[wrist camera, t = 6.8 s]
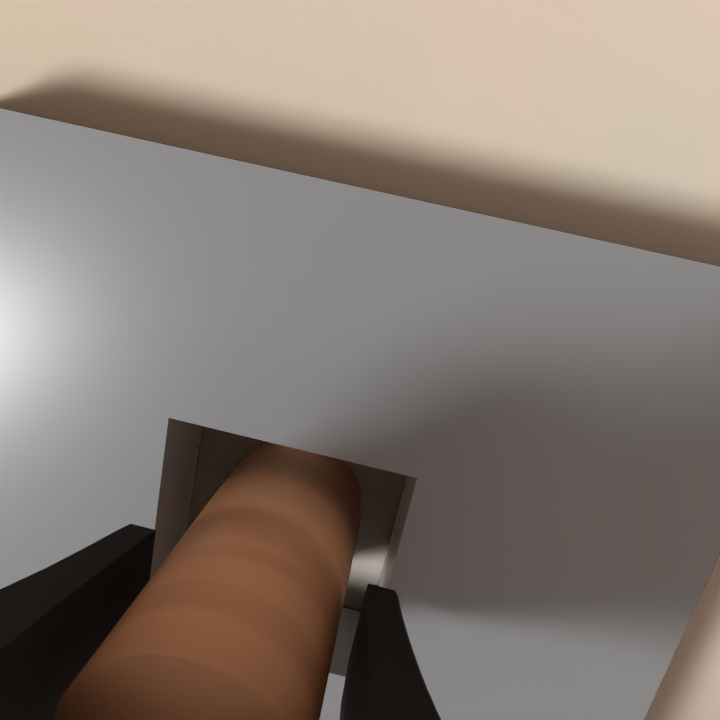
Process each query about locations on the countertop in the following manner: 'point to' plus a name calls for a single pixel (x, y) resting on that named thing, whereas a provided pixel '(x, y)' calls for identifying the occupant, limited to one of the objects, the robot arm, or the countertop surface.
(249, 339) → the socket plate
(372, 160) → the countertop surface
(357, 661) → the robot arm
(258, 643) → the peg
